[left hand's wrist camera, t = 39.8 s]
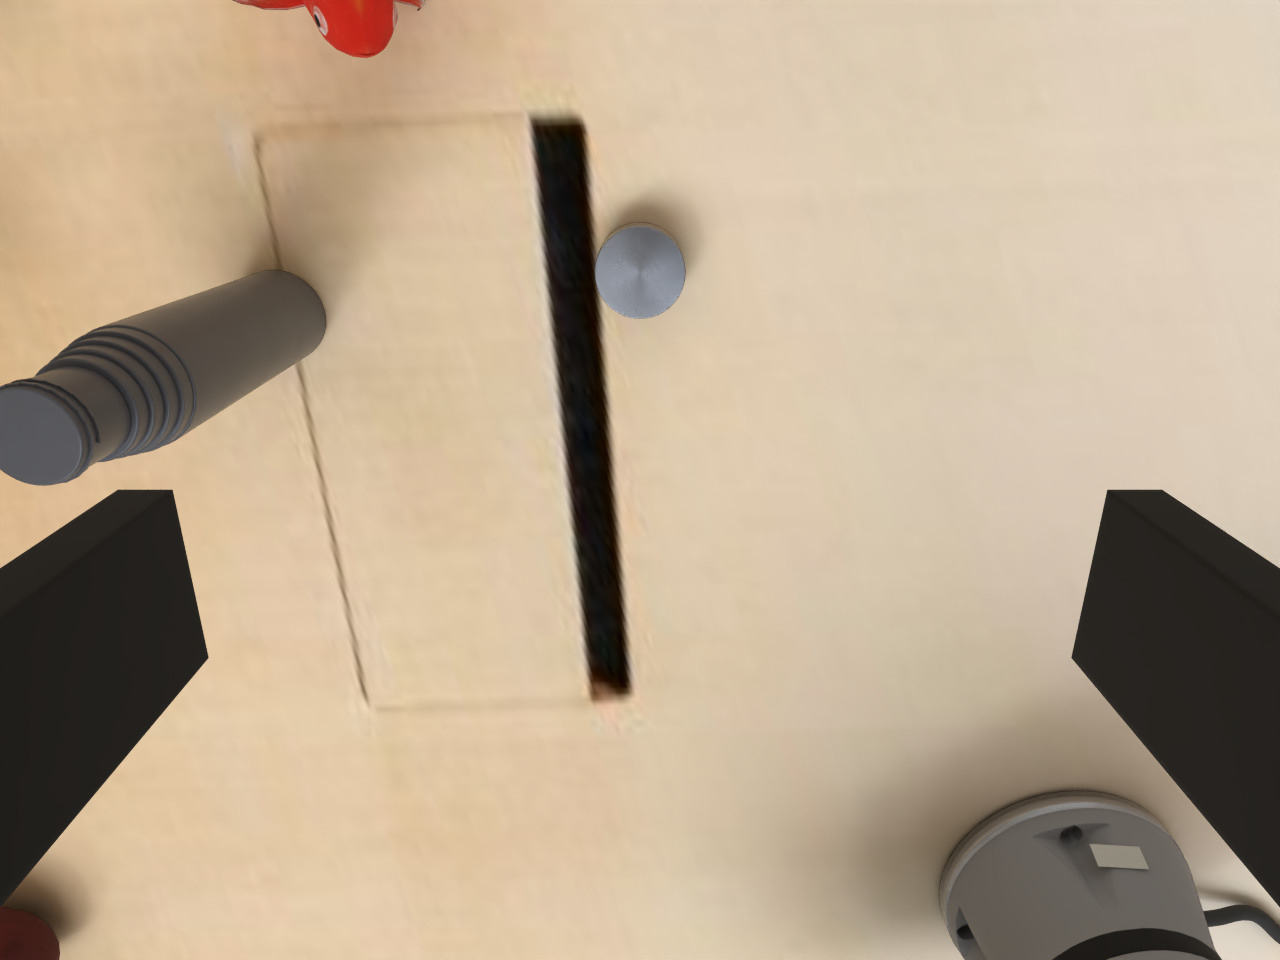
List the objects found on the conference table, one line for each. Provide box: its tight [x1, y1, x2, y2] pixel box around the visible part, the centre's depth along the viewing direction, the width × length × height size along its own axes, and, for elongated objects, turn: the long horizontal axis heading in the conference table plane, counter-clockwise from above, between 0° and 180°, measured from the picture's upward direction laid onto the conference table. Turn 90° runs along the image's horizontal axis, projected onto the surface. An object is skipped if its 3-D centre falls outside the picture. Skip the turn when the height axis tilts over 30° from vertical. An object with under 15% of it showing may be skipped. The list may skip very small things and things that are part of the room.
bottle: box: [0, 270, 326, 486], centre depth 34 cm, size 4×4×19 cm
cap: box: [595, 222, 685, 319], centre depth 41 cm, size 4×4×2 cm
